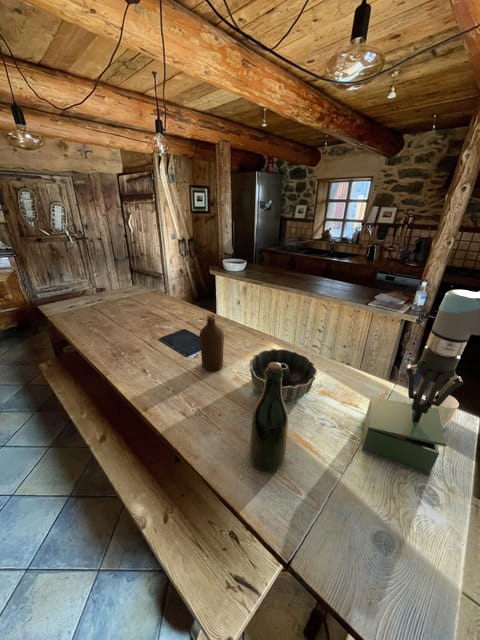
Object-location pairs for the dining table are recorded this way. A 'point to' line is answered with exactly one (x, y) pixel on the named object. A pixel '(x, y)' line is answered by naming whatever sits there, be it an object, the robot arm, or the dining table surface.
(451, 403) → the white cup
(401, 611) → the dining table surface
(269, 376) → the beer bottle
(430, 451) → the bin
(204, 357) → the olive oil
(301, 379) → the bundt pan
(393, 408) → the bin lid
